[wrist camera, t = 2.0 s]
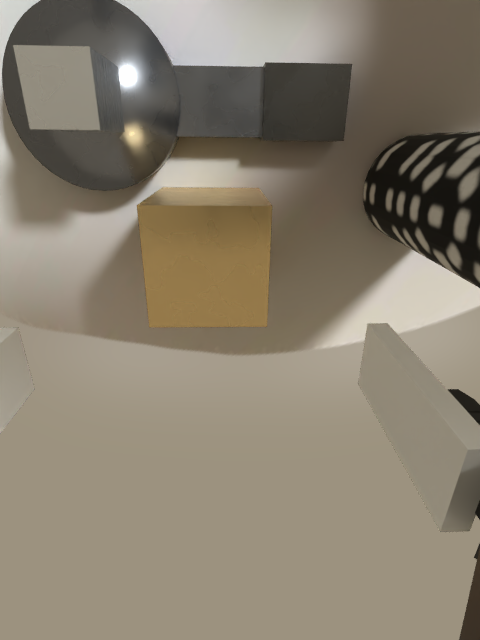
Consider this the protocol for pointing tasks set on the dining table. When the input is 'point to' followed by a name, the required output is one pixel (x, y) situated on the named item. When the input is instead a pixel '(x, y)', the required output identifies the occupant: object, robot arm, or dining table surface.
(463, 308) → the dining table surface
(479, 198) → the white-spotted black cylinder
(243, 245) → the golden tan block
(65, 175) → the grey handled disc
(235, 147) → the dining table surface
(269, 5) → the dining table surface
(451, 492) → the robot arm
